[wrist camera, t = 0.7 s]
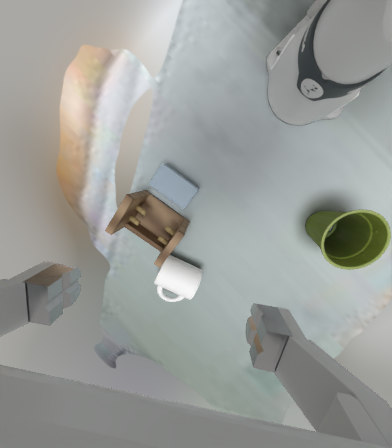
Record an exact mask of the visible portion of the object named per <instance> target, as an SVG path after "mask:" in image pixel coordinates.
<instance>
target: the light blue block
mask: <svg viewBox="0 0 392 448" xmlns="http://www.w3.org/2000/svg"><path fill="white" fill-rule="evenodd" d="M149 185H150V186H152V187H153V188H154V189H156V190H157V191H159V192H160V193H161V194H163V195H164V196H166V197H167V198H168V199H170V200H171V201H172V202H174V203H175V204H177V205H178V206H179V207H181V208H182V209H185V207H186V206H187V205H188V203H189V202H190V200H191V199H192V198H193V196H194V195H195V194H196V192H197V191H198V189H199V188H198V187H197V186H195V185H194V184H193V183H191V182H190V181H189V180H187V179H186V178H185V177H183V176H182V175H181V174H179V173H178V172H177V171H175V170H174V169H173V168H171V167H170V166H168V165H167V164H163V163H162V164H161V166H160V167H159V169H158V171H157V172H156V174H155V175H154V177H153V179H152V180H151V182H150V183H149Z"/></svg>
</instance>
